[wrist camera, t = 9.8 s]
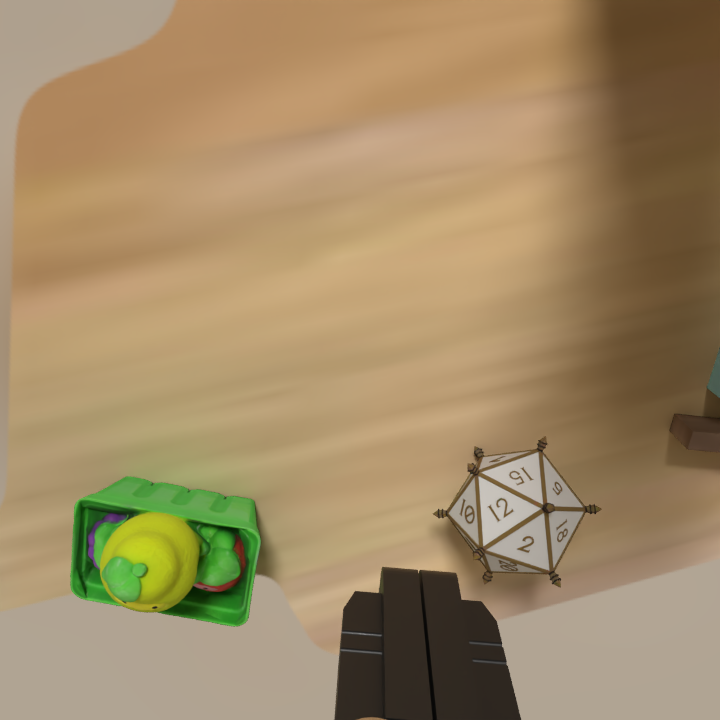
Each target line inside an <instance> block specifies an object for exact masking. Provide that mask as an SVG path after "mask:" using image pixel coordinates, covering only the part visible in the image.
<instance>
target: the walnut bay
mask: <svg viewBox="0 0 720 720" xmlns="http://www.w3.org/2000/svg"><path fill="white" fill-rule="evenodd" d="M670 432H671V433H672V434H673V435H674V436H675V437H676V438H677V439H678V440H679V441H680V442H681V443H682V444H683V445H684V446H685V447H686V448H687V449H690V450H700V451H710V452H720V418H710V417H700V416H690V415H680V414H675V415H674V418H673V421H672V425H671V428H670Z"/></svg>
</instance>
